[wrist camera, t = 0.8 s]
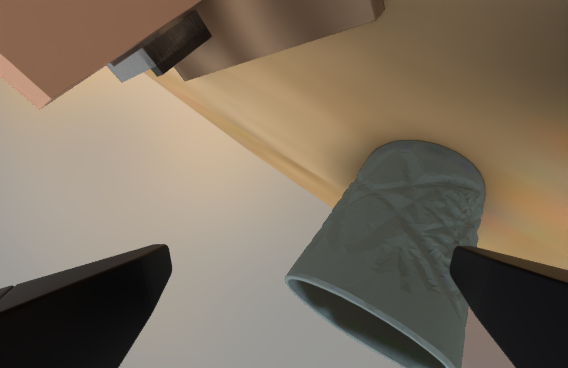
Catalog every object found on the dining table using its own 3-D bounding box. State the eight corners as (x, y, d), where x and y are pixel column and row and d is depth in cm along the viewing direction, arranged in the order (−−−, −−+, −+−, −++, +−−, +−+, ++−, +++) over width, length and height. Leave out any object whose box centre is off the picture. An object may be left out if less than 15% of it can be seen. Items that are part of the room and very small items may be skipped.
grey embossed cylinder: (345, 177, 26) (278, 287, 21) (390, 102, 17) (293, 263, 12) (443, 234, 24) (396, 369, 19) (551, 184, 15) (516, 412, 10)
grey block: (107, -135, 14) (18, -109, 12) (212, 36, 20) (163, 74, 18) (80, -62, 20) (15, -35, 18) (169, 57, 25) (127, 88, 23)
